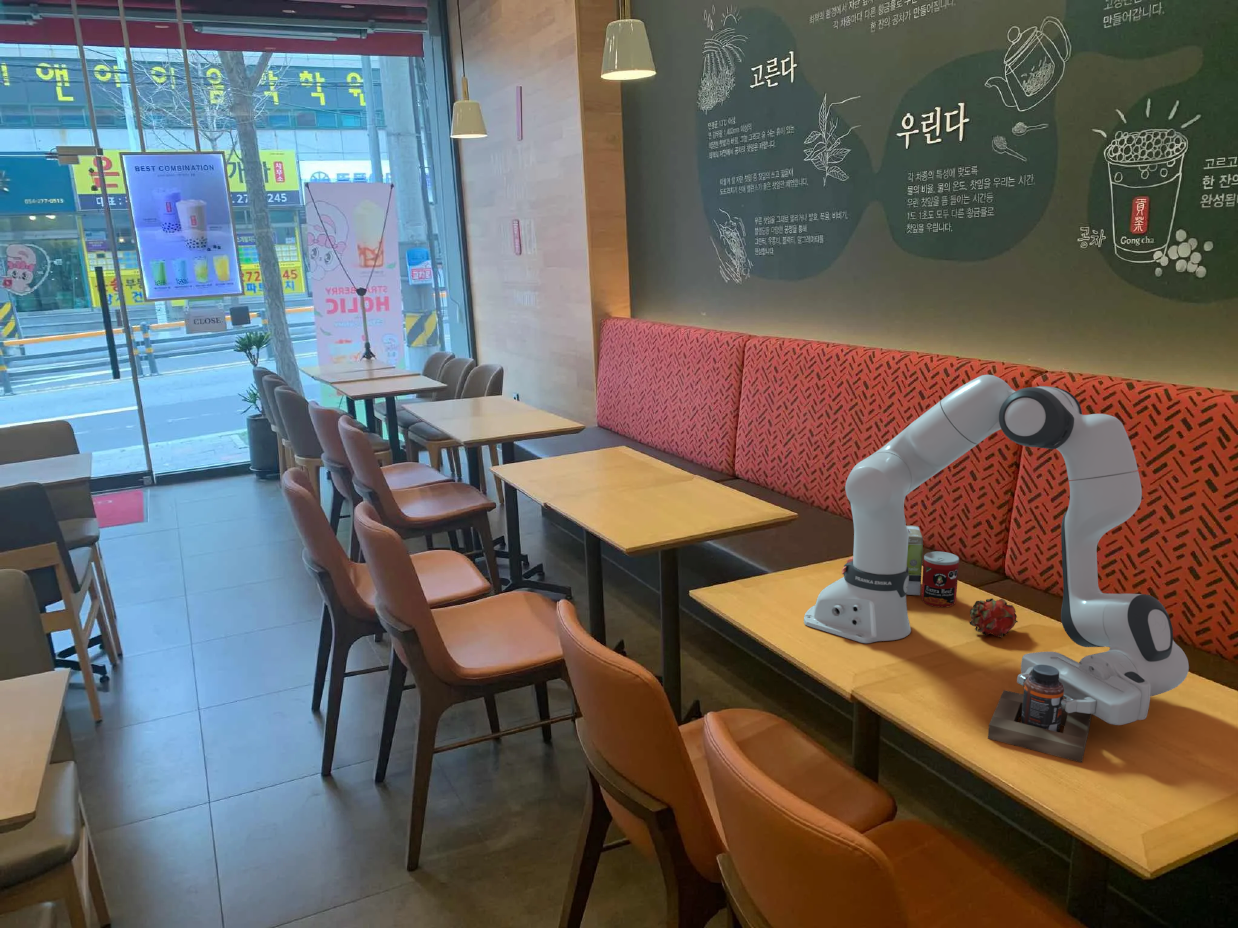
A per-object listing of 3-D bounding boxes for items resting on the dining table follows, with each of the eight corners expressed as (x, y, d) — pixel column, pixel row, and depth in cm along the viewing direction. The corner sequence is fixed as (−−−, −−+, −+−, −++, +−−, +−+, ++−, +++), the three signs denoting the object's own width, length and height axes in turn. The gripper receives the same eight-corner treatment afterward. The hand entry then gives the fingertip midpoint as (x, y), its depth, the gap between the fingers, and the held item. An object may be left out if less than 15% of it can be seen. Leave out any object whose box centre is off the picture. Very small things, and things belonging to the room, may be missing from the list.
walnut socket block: (987, 738, 146) (988, 724, 145) (1002, 702, 157) (1003, 689, 156) (1081, 762, 138) (1083, 748, 138) (1090, 723, 150) (1091, 709, 149)
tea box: (916, 582, 216) (920, 524, 212) (920, 597, 206) (924, 537, 203) (853, 578, 219) (856, 521, 216) (854, 592, 209) (857, 533, 206)
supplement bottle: (1063, 741, 144) (1070, 678, 142) (1025, 738, 145) (1031, 676, 143) (1053, 723, 150) (1060, 662, 147) (1016, 720, 151) (1022, 660, 148)
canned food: (920, 605, 201) (923, 560, 199) (921, 593, 208) (924, 549, 206) (955, 609, 198) (959, 564, 196) (956, 597, 205) (959, 553, 203)
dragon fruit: (965, 644, 184) (1006, 641, 189) (995, 633, 177) (1037, 631, 182) (953, 604, 188) (994, 603, 193) (982, 593, 181) (1024, 592, 186)
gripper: (1058, 638, 159) (997, 650, 155) (1159, 688, 140) (1094, 704, 136) (1054, 670, 161) (994, 682, 156) (1154, 724, 142) (1089, 740, 137)
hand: (1041, 693), depth 146 cm, fingers open, 8 cm apart
